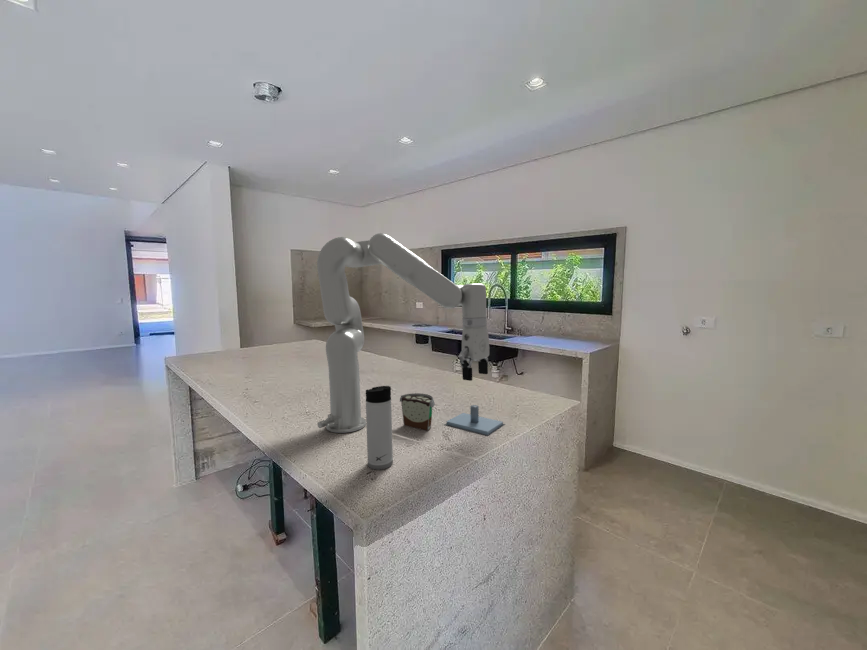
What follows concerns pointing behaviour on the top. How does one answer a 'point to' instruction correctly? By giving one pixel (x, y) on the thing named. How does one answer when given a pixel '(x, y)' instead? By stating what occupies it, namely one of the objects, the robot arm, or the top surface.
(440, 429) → the top surface
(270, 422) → the top surface
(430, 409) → the food container
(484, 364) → the robot arm
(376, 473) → the top surface
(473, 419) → the lid
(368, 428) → the travel mug
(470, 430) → the mat
